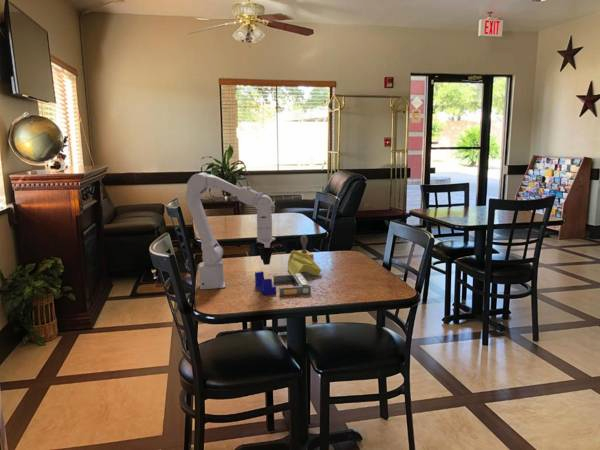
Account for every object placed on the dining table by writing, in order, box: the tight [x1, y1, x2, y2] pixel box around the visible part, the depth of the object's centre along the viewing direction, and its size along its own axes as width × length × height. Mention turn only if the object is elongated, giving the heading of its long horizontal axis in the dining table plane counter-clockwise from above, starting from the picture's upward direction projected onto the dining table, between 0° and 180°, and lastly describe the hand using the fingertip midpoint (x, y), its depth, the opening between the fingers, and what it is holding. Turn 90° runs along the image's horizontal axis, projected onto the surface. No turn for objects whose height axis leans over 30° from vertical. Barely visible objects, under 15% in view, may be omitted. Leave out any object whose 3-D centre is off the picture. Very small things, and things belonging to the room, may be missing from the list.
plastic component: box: [287, 249, 322, 277], centre depth 207 cm, size 20×7×10 cm
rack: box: [272, 273, 312, 297], centre depth 184 cm, size 11×17×4 cm
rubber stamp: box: [296, 234, 315, 262], centre depth 225 cm, size 10×6×12 cm, turn 20°
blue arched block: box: [254, 270, 277, 297], centre depth 182 cm, size 12×4×6 cm, turn 21°
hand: (265, 261), depth 186 cm, fingers open, 7 cm apart
